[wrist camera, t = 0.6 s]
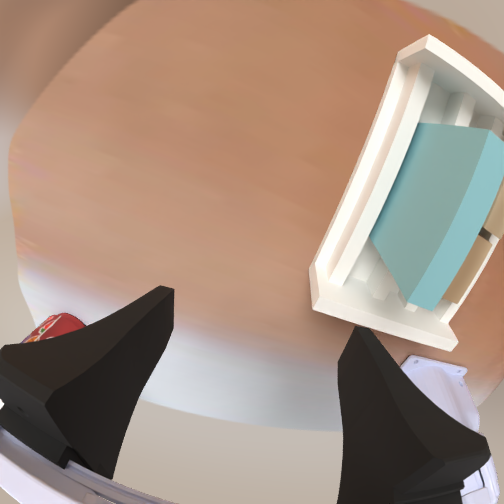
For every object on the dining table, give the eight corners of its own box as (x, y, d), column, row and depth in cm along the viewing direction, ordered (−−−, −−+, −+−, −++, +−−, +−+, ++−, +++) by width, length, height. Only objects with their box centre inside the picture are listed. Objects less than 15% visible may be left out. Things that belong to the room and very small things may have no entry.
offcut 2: (499, 164, 15) (527, 174, 12) (475, 221, 17) (500, 239, 14) (483, 151, 15) (512, 159, 12) (458, 210, 17) (484, 228, 14)
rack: (515, 138, 14) (555, 148, 10) (429, 313, 22) (450, 351, 17) (398, 51, 14) (428, 34, 9) (308, 269, 21) (312, 309, 17)
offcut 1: (472, 228, 17) (492, 244, 15) (441, 283, 19) (457, 304, 17) (455, 218, 17) (476, 233, 15) (424, 275, 19) (439, 296, 17)
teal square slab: (430, 133, 15) (512, 150, 8) (384, 238, 19) (432, 311, 11) (411, 122, 15) (489, 129, 8) (364, 230, 19) (406, 301, 11)
